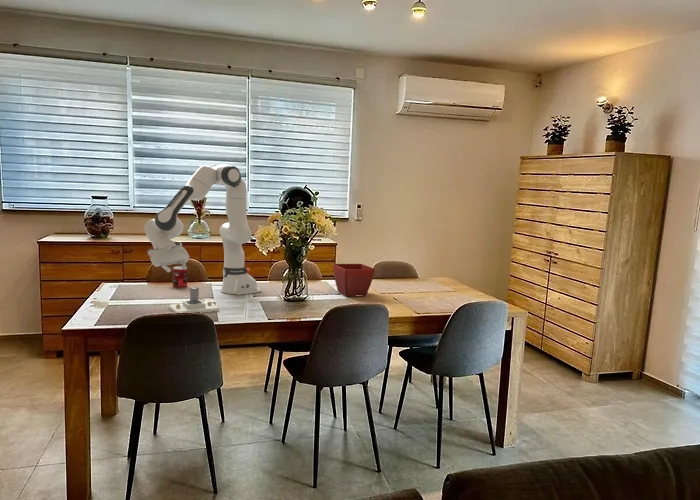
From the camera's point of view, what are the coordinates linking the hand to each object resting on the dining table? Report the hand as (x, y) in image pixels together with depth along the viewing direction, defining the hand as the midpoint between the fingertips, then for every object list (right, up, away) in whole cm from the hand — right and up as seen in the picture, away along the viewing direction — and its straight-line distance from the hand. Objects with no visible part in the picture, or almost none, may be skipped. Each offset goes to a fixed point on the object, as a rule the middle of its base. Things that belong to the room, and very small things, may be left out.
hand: (177, 270), depth 241 cm
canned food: (-14, -11, +43) cm, 46 cm away
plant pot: (+86, -16, +49) cm, 100 cm away
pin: (+10, -17, -4) cm, 20 cm away
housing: (+9, -19, -4) cm, 21 cm away
